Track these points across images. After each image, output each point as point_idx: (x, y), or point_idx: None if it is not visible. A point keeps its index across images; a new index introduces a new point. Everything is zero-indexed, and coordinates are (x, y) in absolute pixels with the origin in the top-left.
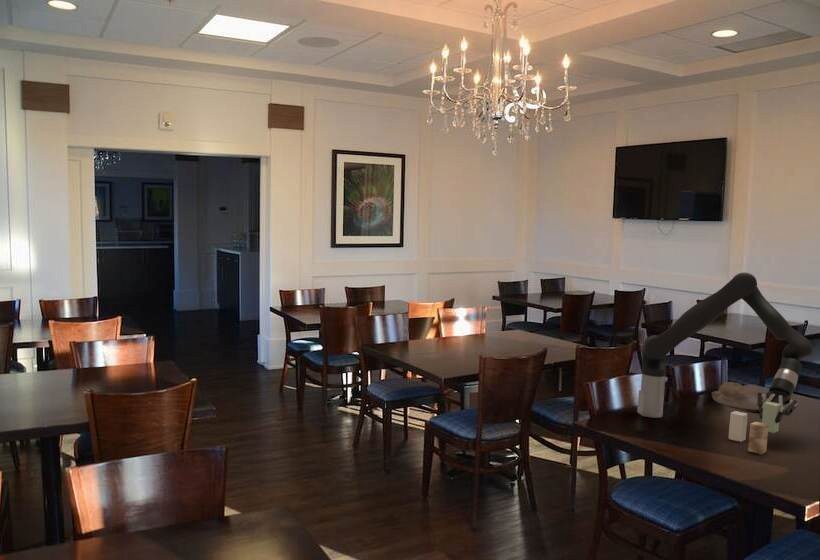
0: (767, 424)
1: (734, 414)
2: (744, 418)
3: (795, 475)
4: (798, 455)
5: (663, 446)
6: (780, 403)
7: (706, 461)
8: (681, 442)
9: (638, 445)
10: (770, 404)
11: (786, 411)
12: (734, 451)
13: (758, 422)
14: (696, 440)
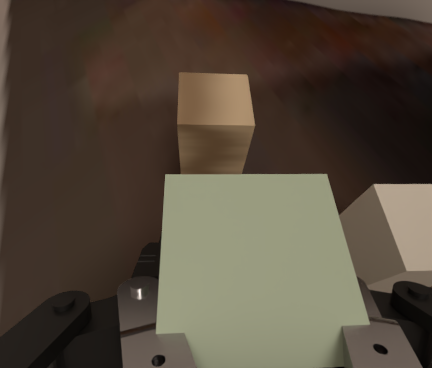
0: (182, 121)
1: (424, 186)
2: (369, 223)
3: (53, 71)
4: (63, 271)
5: (369, 44)
6: (160, 349)
7: (251, 27)
8: (381, 91)
9: (394, 20)
10: (248, 184)
11: (70, 293)
12: None
13: (234, 121)
14: (382, 135)
